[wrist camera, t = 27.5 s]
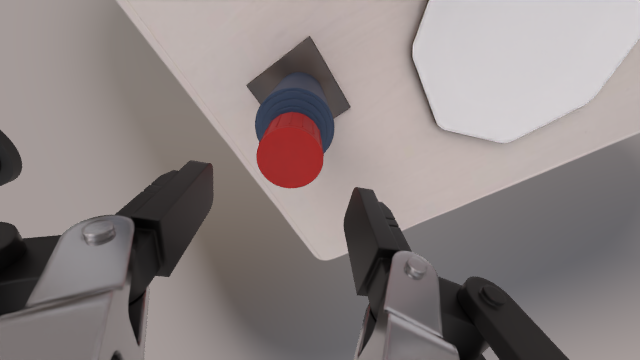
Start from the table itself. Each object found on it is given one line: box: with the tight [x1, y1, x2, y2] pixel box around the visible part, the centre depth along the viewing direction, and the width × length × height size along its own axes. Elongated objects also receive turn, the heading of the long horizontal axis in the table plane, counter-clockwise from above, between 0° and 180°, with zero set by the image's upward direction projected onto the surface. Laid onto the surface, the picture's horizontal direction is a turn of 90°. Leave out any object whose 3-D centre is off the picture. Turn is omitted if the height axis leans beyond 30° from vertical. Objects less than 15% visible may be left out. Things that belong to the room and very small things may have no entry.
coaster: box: [246, 36, 350, 119], centre depth 31 cm, size 10×10×1 cm
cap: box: [257, 112, 324, 188], centre depth 15 cm, size 4×4×4 cm
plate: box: [412, 0, 640, 143], centre depth 28 cm, size 28×28×2 cm
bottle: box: [255, 72, 334, 153], centre depth 22 cm, size 6×6×20 cm
